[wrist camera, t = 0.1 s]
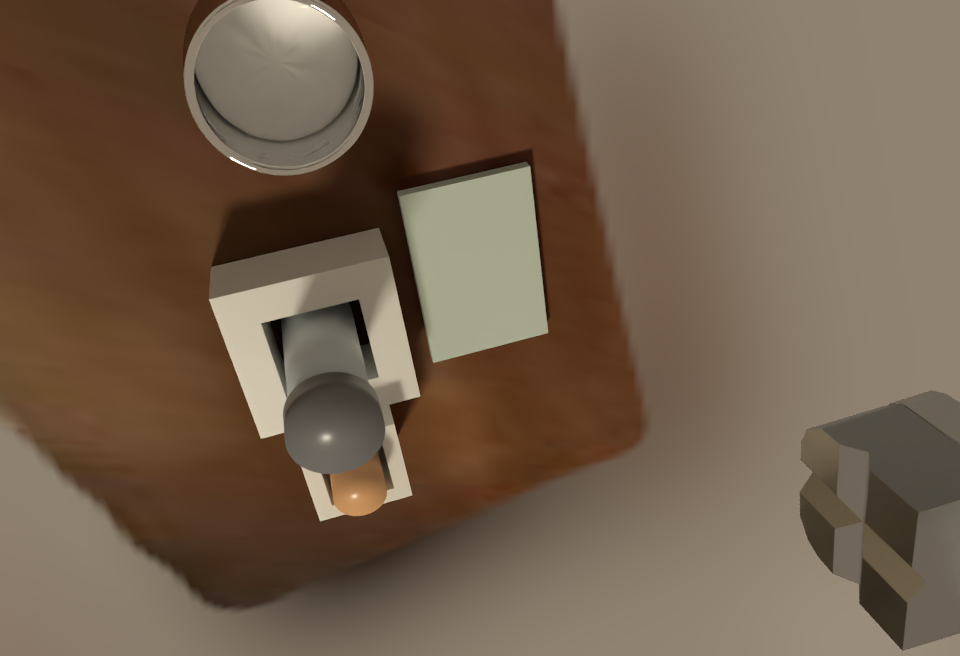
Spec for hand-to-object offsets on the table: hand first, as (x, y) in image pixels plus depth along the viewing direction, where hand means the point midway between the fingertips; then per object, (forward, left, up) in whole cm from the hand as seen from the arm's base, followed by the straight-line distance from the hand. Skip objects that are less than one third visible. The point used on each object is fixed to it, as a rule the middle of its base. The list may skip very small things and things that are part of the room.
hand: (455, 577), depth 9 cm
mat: (+18, +7, -39) cm, 43 cm away
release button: (+27, -3, -35) cm, 44 cm away
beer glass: (+1, -1, -39) cm, 39 cm away
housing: (+22, -3, -39) cm, 45 cm away
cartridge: (+19, -3, -39) cm, 43 cm away
